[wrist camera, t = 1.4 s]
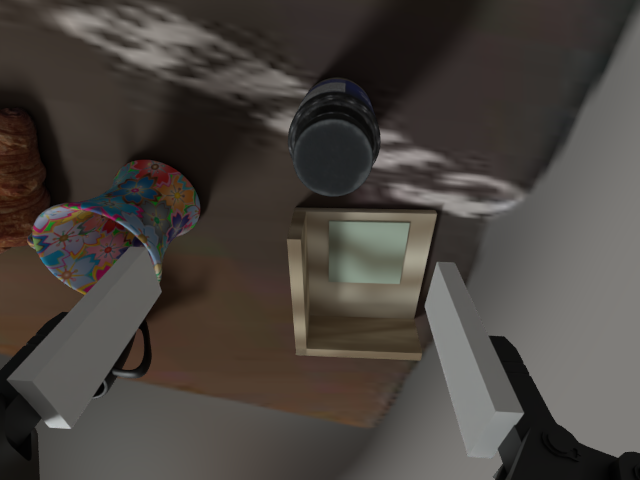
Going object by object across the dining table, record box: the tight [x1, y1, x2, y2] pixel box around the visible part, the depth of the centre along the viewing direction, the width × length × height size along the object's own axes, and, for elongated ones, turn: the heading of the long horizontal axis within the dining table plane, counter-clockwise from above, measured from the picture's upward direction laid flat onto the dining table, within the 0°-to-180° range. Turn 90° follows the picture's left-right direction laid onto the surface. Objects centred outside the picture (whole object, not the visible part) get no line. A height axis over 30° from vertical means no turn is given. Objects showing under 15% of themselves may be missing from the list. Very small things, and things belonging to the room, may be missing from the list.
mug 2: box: [92, 319, 152, 399], centre depth 40 cm, size 8×12×10 cm
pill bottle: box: [288, 77, 380, 196], centre depth 23 cm, size 6×6×11 cm
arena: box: [287, 207, 437, 360], centre depth 35 cm, size 16×14×6 cm
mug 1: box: [27, 160, 200, 295], centre depth 29 cm, size 12×9×11 cm
